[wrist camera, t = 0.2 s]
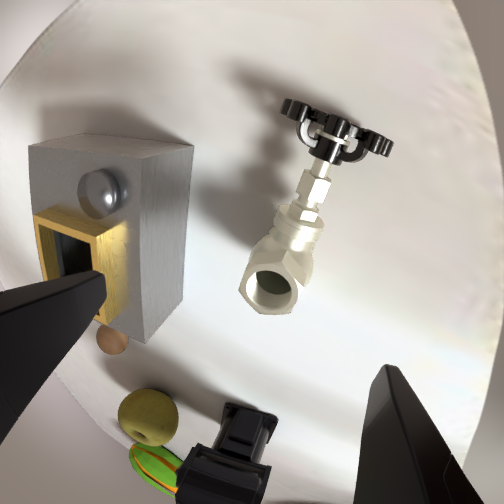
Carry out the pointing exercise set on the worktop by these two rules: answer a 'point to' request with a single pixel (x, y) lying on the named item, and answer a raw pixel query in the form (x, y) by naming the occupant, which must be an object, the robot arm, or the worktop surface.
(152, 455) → the corn
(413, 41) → the worktop surface
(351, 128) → the valve
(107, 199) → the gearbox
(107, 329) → the bead
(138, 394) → the apple
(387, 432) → the robot arm
